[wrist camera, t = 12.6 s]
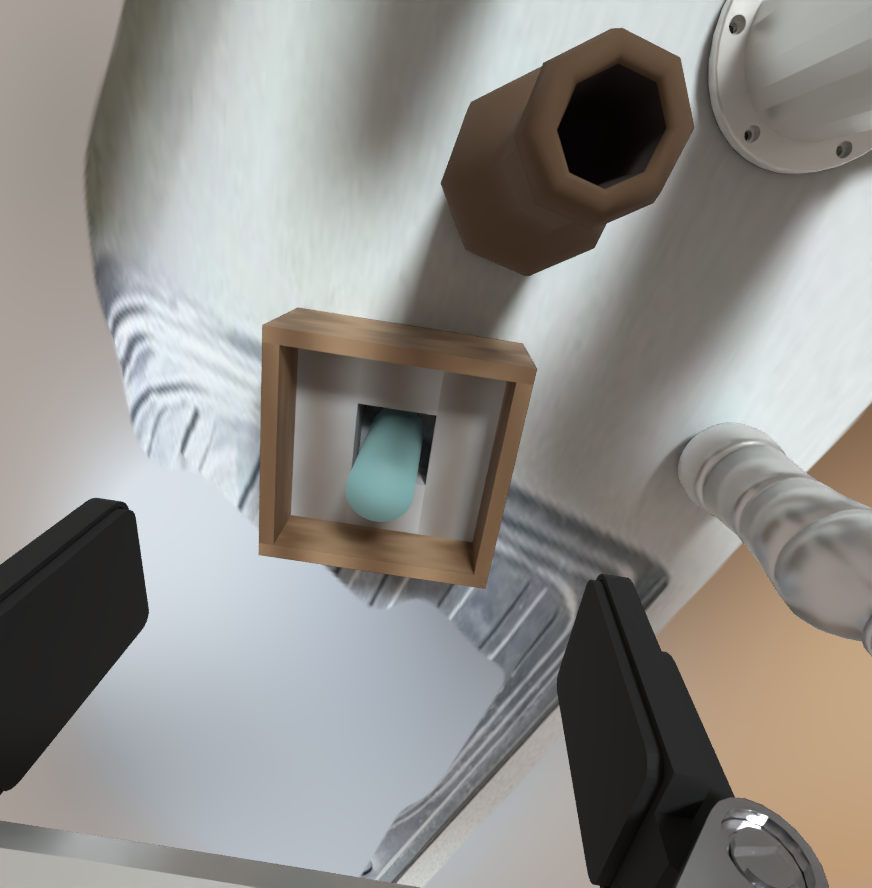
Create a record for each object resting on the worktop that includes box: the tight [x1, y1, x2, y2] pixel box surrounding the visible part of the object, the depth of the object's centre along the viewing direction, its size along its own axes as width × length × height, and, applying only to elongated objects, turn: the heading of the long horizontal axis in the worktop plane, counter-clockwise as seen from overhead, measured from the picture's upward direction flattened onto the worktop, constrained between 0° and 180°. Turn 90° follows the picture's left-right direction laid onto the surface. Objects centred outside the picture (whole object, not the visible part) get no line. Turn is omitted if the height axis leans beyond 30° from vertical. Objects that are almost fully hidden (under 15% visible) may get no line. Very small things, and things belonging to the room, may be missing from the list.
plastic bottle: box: [678, 423, 872, 656], centre depth 29 cm, size 6×7×20 cm
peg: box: [345, 408, 424, 522], centre depth 34 cm, size 4×4×10 cm
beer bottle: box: [441, 28, 694, 276], centre depth 21 cm, size 8×8×24 cm
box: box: [259, 308, 537, 589], centre depth 36 cm, size 16×16×7 cm
